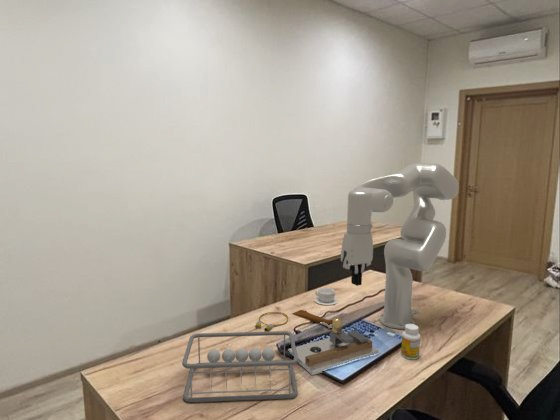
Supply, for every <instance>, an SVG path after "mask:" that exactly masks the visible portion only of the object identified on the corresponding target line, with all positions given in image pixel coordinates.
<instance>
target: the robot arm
mask: <svg viewBox="0 0 560 420" xmlns="http://www.w3.org/2000/svg"><path fill="white" fill-rule="evenodd" d="M459 189H460V185H459V181H458V180H457V178H456V177H455V176H454V175H453V174H452V173H451V171H449V170H448V169H447V168H446V167H444V166H443V165H441V164H438V163H432V162H431V163H429V162H415V163H410V164H409V165H407V166H405V167H404V168H402V169H400V170H398V171H396V172H395V173H393V174H388V175H385V176H384V175H383V176H380V177H378V178H377V177H376V178H373V179H369V180H366V181H365V182H363V183H361V184H359V185H357V186H356V187H354V188H353V189H352V190H351V191H350V192H348V195H347V215H346V216H347V218H346V219H347V220H346V232H344V234H343V237H342V243H341V250H340V262H341V263H343V264H342V268H343V269H345V270H349V271H350V272H351V279H350V280H351V281H350V282H351V284H352V285H355V286H357V287H358V286H362V281H363V279H362V278H363V273H364V272H365V269H366V268H367V267H369V266H370V265H372V261H373V258H374V241H373V234H372V229H373V224H372V216H373V215H372V213H385V212H388V211H389V210H390V209H391V208H392V207H393V205H394V198H401V197H404V196H406V195H408V194H410V193H411V192H412V197H413V206H412V209H411V210H410V213H408V216H407V218H406V219H405V221H404V222H403V224H402V226H401V229H400V237H401V239H400V238H392V239H390V240H388V241H387V242H386V244H385V246H384V248H383V254H384V261H385V262H384V263H385V286H384V301H383V302H384V304H383V307H384V308H383V313H381V314H380V315H379V319H378V321H379V322H380V323H381V324H382V325H383V326H386V327H388V328H391V329H398V330H405V325H406V324H414V325H415V320H414V318H413V316H414V315H418V314H419V313H420V310H419V309H418V308H414V309H412V297H413V296H412V292H413V274H412V271H411V270H415V271H420V272H425V271H428V270H429V269H430V268H431V267H432V266H433V264H434V262H435V261H436V259H437V257H438V255H439V252H440V251H441V249H442V247H443V246H444V243H445V241H446V239H447V228H446V226H445V225H444V223H442V222H441V221H439V220H434V218H435V217H436V209H435V207H434V205H433V203H432V202H431V199H438V200H447V201H448V200H453V199H454V198H456V197H457V195H458V194H459V191H460V190H459Z"/></svg>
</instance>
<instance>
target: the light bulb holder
mask: <svg viewBox="0 0 560 420" xmlns="http://www.w3.org/2000/svg"><path fill="white" fill-rule="evenodd" d="M332 320H333V325H332V329H331V330H332V331H330V332H329V338H330V342H332V343H333V344H335V345H337V344H341V343H343V342H344V343H345V344H346V343H349V342H353V338H352V337H350V336H349V335H347V334H346V332H345V331H342V318H341V317H339V316H334V317H332Z"/></svg>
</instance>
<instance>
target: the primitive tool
mask: <svg viewBox="0 0 560 420" xmlns="http://www.w3.org/2000/svg"><path fill="white" fill-rule="evenodd" d="M292 315H294V316H297V317H299V318H303V319H306V320H308V321H309V322H312V323H315V324H318V323H320V322H325V323H327V324H328V325H330V324H333V319H326V318H323V317H321V316H318V315H316V314H313V313H310V312H309V311H307V310H304V309H299V310H297V311H295V312H292Z"/></svg>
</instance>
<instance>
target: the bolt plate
mask: <svg viewBox="0 0 560 420" xmlns="http://www.w3.org/2000/svg"><path fill="white" fill-rule="evenodd" d="M345 333H346V332H345ZM346 334H347V335H349V336H350V337H352V338H353V342H349V343H346V344H345V343H344V342H343V343H341V344H337V345H335V344H333V343H332V342H330V337H328V338H324V339H321V340H316V341H312V342H310V343H309V342H308V343H304V344H302V345H297V346H296V350H297V355H298V362H297V363H298V364H299V365H300V366H301V367H302V368H304V369H305V370H306V371H307V373H309V374H310V375H311V376H314V375H315V376H316V375H318V374H322V373H323V372H322V371H323V370H325V369H328V368H331V367H333V366H337V365H340V364H343V363H347V362H349V361H352V360H355V359H359V358H363V357H367V356H370V355H374V354H377V353H380V352H379V351H380V350H379V349H378V348H376V347H374V346H373V341H372V340H371V339H369V338H367V337H366V336H364V335H363V334H361V333H359V332H358V331H357V330H352V331H347V333H346ZM288 351H289V352H290V353H291V354H292V355H293V351H292V347H291V348H287V352H288Z"/></svg>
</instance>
